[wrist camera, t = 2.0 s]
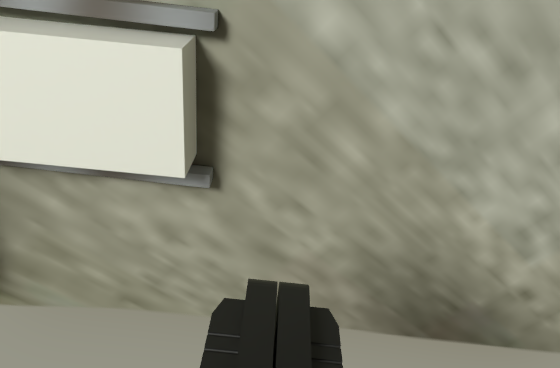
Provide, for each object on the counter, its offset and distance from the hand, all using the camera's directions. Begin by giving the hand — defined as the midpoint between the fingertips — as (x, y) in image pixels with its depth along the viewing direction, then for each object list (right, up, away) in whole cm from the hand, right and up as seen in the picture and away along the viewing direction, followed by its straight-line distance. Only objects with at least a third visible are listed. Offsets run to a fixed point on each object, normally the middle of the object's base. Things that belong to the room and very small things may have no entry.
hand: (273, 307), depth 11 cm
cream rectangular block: (-10, +8, +12) cm, 18 cm away
